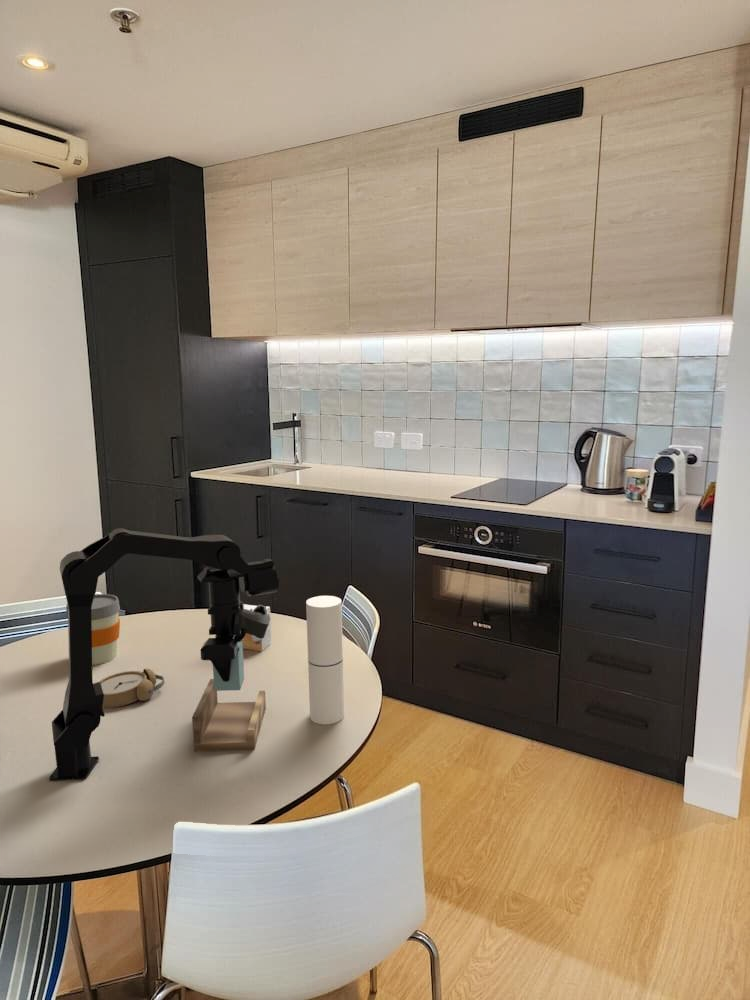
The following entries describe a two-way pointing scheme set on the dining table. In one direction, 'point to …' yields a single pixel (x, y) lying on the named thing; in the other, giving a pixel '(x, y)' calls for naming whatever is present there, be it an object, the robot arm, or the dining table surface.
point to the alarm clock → (129, 687)
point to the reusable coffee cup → (104, 627)
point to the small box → (253, 641)
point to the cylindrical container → (325, 659)
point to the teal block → (231, 674)
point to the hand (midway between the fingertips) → (228, 675)
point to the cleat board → (226, 722)
